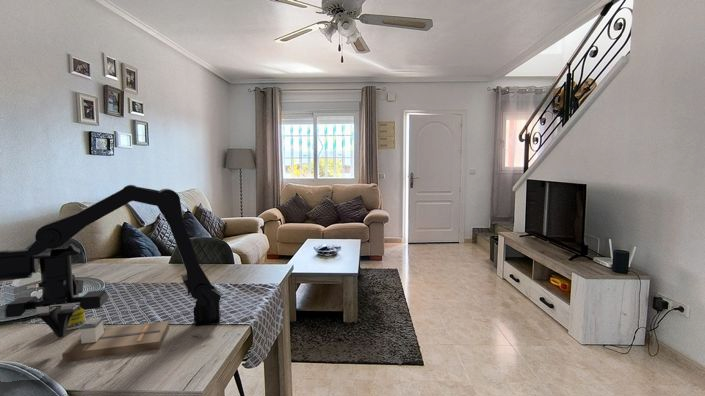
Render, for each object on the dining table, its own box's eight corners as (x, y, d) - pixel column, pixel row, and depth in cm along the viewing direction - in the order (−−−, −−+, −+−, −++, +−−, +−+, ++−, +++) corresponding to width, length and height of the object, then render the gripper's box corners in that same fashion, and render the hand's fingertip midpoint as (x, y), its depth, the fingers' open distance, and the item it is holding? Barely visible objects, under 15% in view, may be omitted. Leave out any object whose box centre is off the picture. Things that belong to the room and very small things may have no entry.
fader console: (169, 328, 99) (168, 320, 99) (159, 349, 88) (159, 341, 88) (84, 338, 93) (84, 330, 93) (62, 361, 82) (62, 353, 82)
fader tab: (104, 332, 92) (103, 316, 91) (96, 342, 87) (95, 325, 86) (89, 334, 91) (88, 318, 90) (80, 343, 86) (79, 327, 85)
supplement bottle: (71, 331, 97) (69, 296, 96) (55, 329, 98) (53, 295, 97) (90, 323, 102) (88, 289, 101) (74, 321, 103) (72, 288, 103)
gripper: (113, 262, 96) (116, 318, 97) (28, 268, 90) (33, 327, 92) (97, 274, 85) (101, 337, 87) (-1, 282, 80) (5, 349, 81)
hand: (61, 337), depth 87 cm, fingers closed
